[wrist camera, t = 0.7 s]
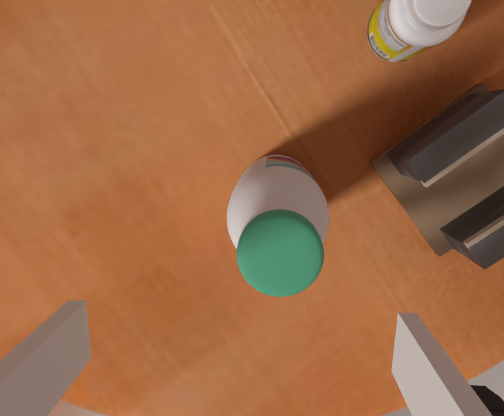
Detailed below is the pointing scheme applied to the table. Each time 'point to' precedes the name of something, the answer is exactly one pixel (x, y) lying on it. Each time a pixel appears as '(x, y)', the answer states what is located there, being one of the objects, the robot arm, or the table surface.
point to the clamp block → (454, 176)
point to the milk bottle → (278, 225)
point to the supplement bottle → (413, 26)
